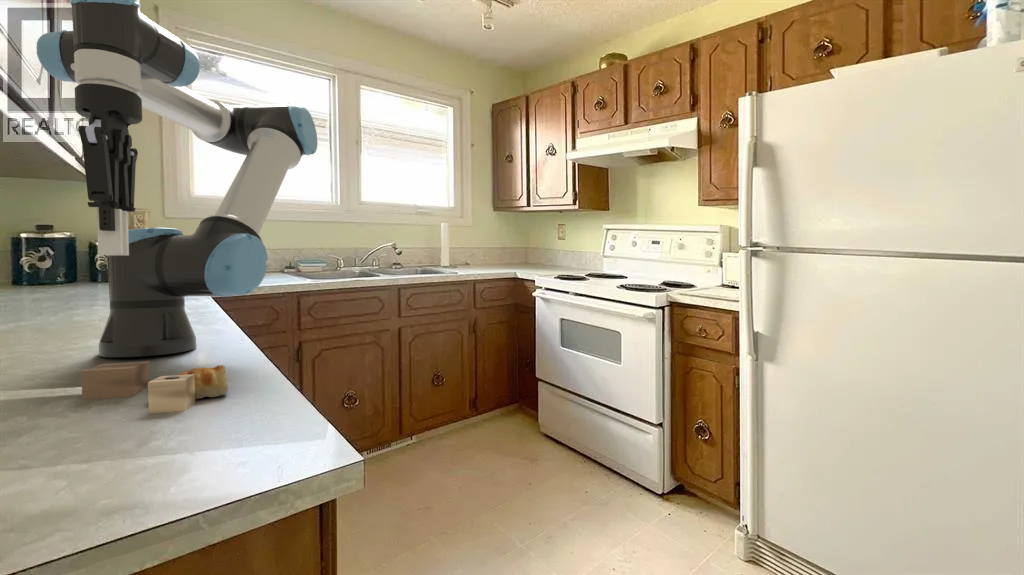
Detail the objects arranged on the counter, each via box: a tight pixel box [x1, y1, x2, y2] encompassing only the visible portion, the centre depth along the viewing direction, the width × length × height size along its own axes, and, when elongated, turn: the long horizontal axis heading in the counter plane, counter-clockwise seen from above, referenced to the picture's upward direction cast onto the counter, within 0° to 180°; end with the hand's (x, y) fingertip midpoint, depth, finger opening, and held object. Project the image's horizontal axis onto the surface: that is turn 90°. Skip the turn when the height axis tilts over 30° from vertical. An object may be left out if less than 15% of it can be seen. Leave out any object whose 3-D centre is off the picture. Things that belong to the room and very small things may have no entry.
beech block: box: [147, 374, 196, 414], centre depth 65 cm, size 4×4×4 cm
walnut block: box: [80, 360, 151, 401], centre depth 73 cm, size 6×6×4 cm
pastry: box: [176, 364, 229, 400], centre depth 71 cm, size 9×7×4 cm
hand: (113, 254), depth 72 cm, fingers closed
